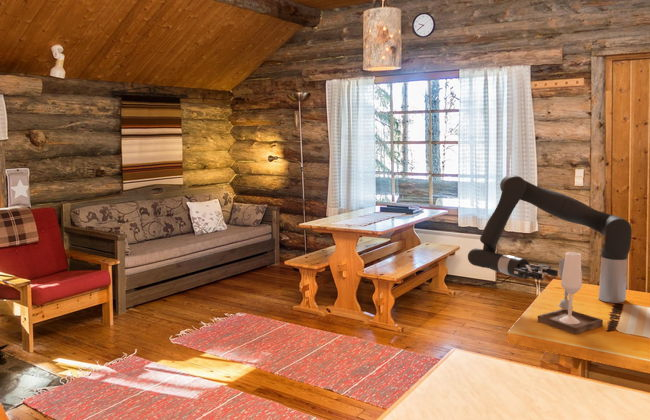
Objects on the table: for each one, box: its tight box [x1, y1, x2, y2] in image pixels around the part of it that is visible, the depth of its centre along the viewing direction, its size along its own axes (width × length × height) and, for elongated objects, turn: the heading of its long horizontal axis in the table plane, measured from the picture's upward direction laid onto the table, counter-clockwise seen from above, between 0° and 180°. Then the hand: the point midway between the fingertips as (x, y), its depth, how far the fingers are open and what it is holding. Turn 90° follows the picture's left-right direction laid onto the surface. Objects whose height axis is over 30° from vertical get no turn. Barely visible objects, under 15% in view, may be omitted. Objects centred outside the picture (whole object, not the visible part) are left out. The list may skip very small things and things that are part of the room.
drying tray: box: [537, 308, 604, 335], centre depth 200 cm, size 15×15×2 cm
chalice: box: [557, 257, 569, 309], centre depth 218 cm, size 7×7×18 cm
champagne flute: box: [559, 251, 583, 324], centre depth 198 cm, size 7×7×24 cm
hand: (549, 275), depth 205 cm, fingers open, 8 cm apart
